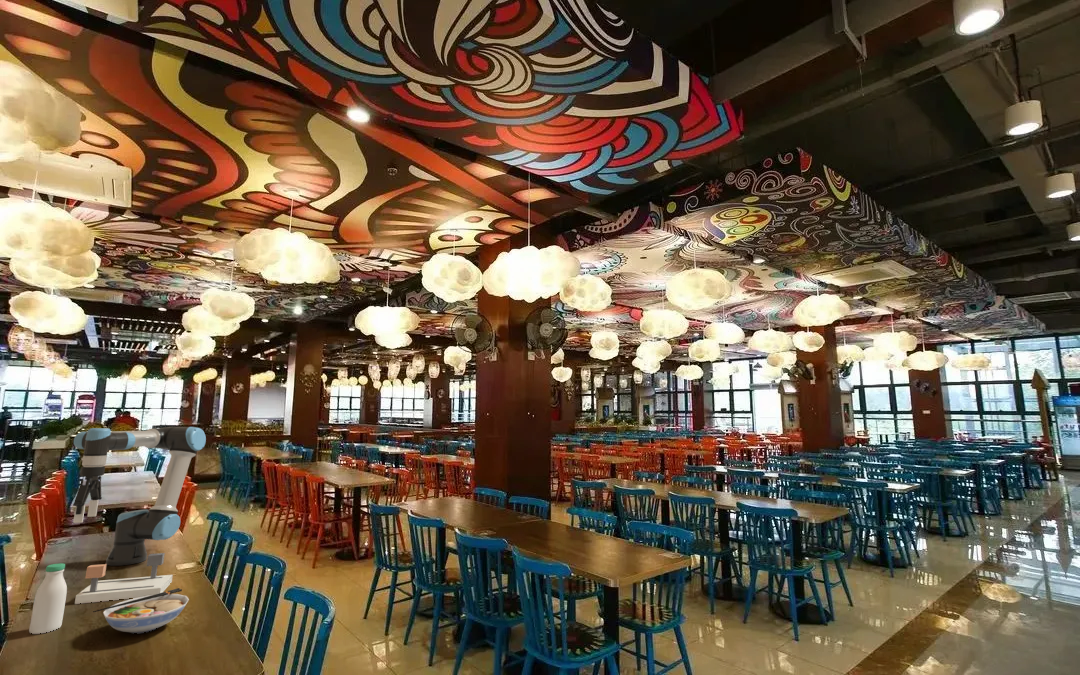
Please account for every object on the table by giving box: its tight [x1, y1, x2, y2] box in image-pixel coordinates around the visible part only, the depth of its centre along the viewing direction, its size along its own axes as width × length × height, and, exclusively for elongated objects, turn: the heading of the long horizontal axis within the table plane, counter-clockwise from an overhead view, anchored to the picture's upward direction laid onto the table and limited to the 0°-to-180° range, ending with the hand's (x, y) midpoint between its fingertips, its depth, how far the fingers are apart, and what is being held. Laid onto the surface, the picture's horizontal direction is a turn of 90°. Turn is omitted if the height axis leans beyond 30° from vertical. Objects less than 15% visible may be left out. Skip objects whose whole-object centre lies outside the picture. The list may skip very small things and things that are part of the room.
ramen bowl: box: [92, 588, 190, 634], centre depth 168 cm, size 25×23×8 cm
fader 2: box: [146, 552, 166, 578], centre depth 210 cm, size 3×5×9 cm, turn 114°
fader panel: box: [74, 574, 173, 605], centre depth 201 cm, size 18×26×3 cm
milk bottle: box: [28, 562, 68, 635], centre depth 167 cm, size 8×8×20 cm
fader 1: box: [85, 563, 108, 592], centre depth 193 cm, size 3×5×9 cm, turn 114°
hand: (85, 519), depth 207 cm, fingers open, 13 cm apart
